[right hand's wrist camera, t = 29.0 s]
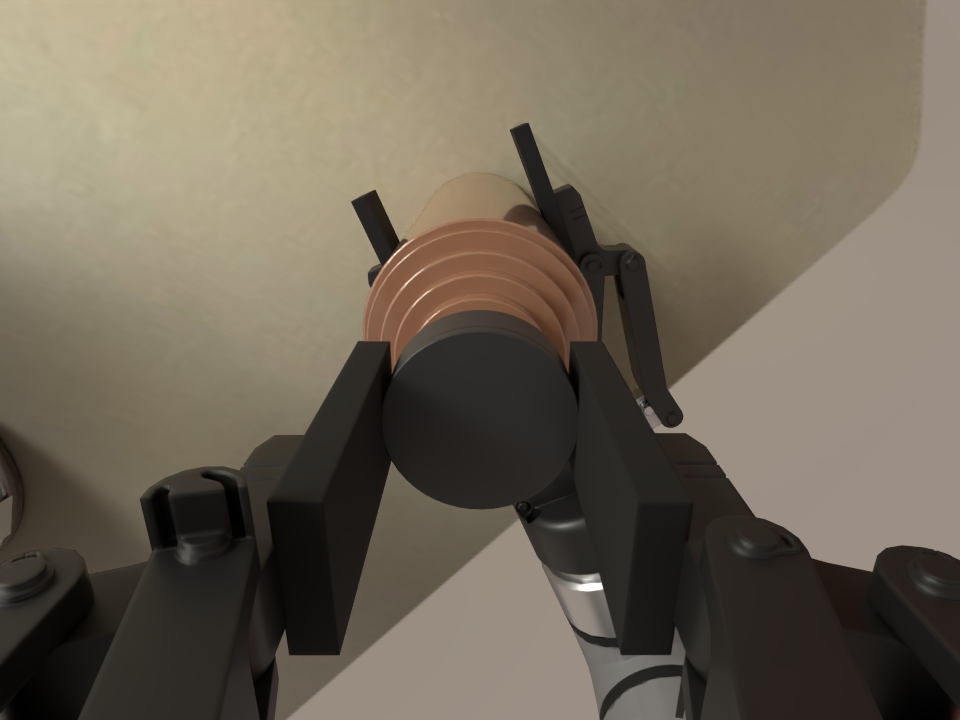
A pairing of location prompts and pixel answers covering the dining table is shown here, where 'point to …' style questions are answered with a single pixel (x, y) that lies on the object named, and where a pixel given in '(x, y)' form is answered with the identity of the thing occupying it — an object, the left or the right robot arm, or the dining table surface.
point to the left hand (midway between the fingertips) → (439, 162)
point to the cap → (480, 410)
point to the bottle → (480, 268)
